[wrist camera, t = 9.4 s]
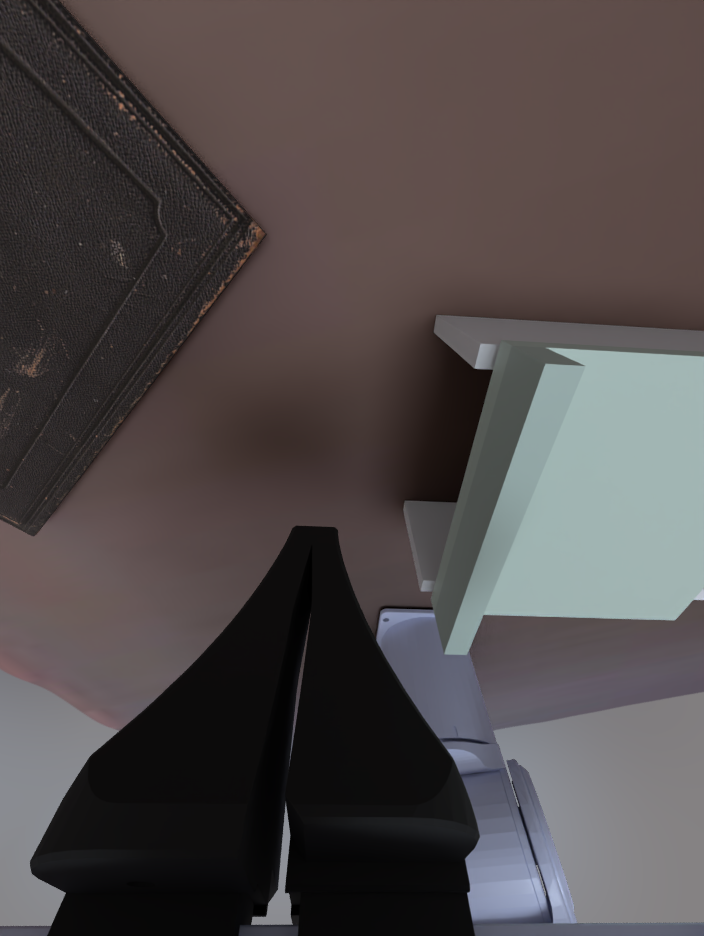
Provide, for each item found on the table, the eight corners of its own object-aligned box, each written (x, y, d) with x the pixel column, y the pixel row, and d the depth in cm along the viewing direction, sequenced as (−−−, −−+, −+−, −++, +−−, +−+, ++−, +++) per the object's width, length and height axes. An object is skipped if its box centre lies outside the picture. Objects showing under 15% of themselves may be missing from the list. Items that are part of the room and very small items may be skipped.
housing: (768, 524, 24) (896, 605, 18) (403, 510, 23) (420, 591, 17) (932, 344, 17) (1203, 385, 12) (436, 314, 16) (480, 343, 11)
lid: (662, 606, 18) (711, 661, 15) (430, 599, 17) (444, 654, 15) (866, 361, 11) (1008, 389, 9) (501, 339, 11) (545, 363, 8)
